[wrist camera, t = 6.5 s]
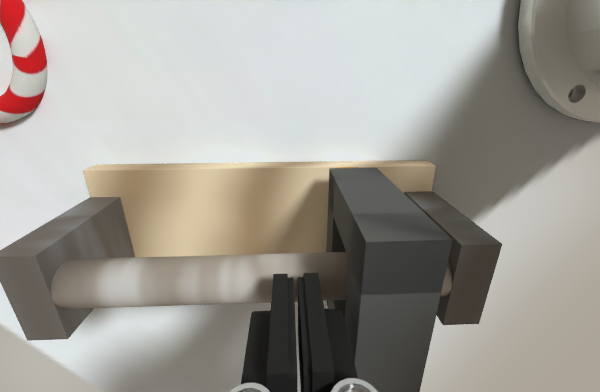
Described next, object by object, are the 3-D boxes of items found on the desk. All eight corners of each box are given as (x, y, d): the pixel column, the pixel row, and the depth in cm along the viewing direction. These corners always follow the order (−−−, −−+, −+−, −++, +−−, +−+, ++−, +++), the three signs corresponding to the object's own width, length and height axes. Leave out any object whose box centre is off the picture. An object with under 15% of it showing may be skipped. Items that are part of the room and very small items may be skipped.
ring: (376, 167, 15) (452, 239, 8) (364, 289, 17) (413, 418, 11) (329, 168, 15) (366, 241, 8) (324, 290, 17) (349, 422, 11)
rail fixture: (426, 160, 17) (513, 209, 11) (410, 260, 20) (472, 349, 13) (96, 164, 16) (-30, 220, 10) (124, 268, 19) (38, 367, 12)
